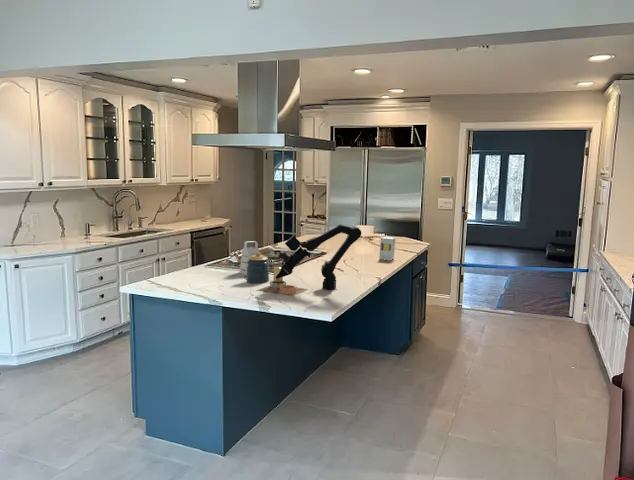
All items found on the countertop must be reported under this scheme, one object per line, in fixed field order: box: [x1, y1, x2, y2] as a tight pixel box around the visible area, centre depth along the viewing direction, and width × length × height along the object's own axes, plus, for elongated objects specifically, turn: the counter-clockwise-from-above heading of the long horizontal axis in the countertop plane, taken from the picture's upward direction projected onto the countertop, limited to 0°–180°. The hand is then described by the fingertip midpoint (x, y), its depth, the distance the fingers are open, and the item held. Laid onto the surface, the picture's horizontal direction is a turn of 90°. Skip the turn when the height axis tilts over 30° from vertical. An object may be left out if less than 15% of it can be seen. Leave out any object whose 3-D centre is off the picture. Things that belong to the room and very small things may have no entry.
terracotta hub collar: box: [280, 284, 298, 295], centre depth 270 cm, size 8×8×3 cm
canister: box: [245, 251, 270, 284], centre depth 294 cm, size 13×13×18 cm
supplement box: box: [378, 236, 396, 261], centre depth 385 cm, size 10×9×17 cm
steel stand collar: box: [269, 280, 287, 289], centre depth 280 cm, size 8×8×3 cm
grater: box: [239, 240, 260, 277], centre depth 318 cm, size 10×10×20 cm
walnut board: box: [256, 285, 309, 297], centre depth 275 cm, size 22×18×1 cm
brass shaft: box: [273, 266, 284, 283], centre depth 280 cm, size 5×5×11 cm
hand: (276, 276), depth 279 cm, fingers open, 9 cm apart
